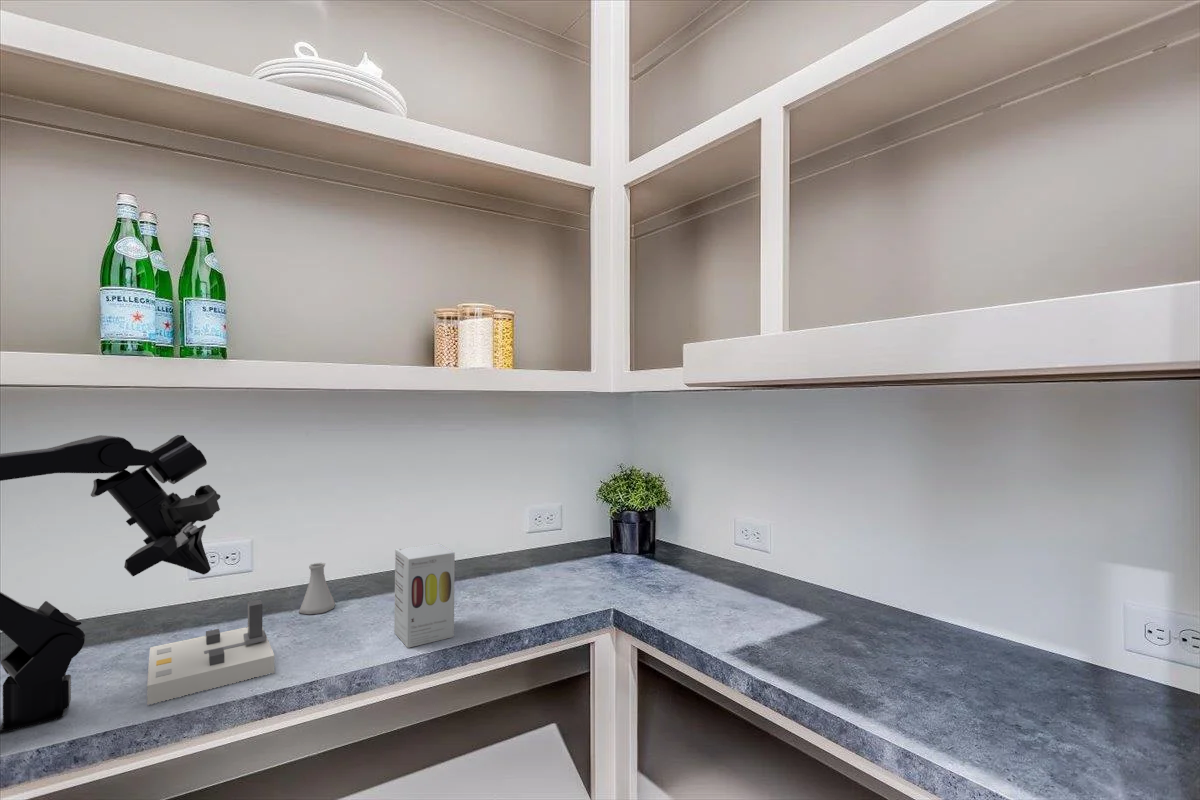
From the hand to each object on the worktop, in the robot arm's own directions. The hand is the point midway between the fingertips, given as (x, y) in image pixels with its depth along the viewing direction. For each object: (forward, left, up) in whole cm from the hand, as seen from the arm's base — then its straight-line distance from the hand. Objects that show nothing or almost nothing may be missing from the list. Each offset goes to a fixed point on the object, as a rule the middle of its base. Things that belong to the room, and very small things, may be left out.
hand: (207, 572), depth 99 cm
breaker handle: (+7, -1, -14) cm, 15 cm away
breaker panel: (+1, -1, -17) cm, 17 cm away
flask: (+21, +19, -17) cm, 33 cm away
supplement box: (+35, -9, -17) cm, 40 cm away
